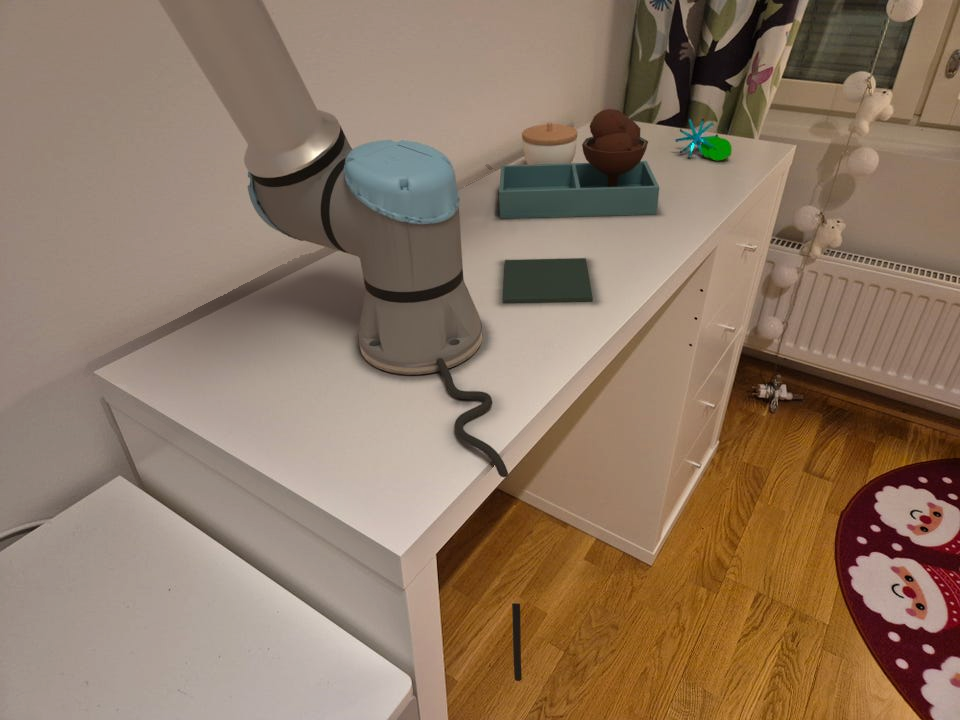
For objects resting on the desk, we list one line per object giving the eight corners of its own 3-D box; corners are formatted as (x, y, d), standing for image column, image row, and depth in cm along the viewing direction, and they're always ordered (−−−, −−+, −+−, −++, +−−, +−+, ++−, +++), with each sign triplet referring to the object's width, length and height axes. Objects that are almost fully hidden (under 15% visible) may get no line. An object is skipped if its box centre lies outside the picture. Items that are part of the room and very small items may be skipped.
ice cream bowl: (626, 212, 110) (633, 120, 102) (569, 200, 116) (571, 112, 108) (654, 192, 117) (662, 104, 109) (598, 182, 123) (602, 98, 114)
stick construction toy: (666, 144, 135) (689, 109, 133) (673, 155, 141) (695, 122, 139) (717, 170, 130) (741, 135, 128) (721, 180, 136) (745, 147, 134)
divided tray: (656, 214, 111) (659, 186, 108) (499, 218, 113) (499, 191, 110) (644, 186, 122) (646, 160, 119) (501, 190, 124) (501, 165, 121)
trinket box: (513, 176, 130) (512, 128, 125) (535, 160, 138) (535, 113, 132) (564, 182, 126) (565, 133, 120) (583, 165, 133) (585, 117, 128)
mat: (592, 301, 88) (592, 297, 88) (503, 303, 89) (503, 299, 88) (585, 261, 98) (585, 257, 97) (505, 263, 99) (504, 259, 98)
